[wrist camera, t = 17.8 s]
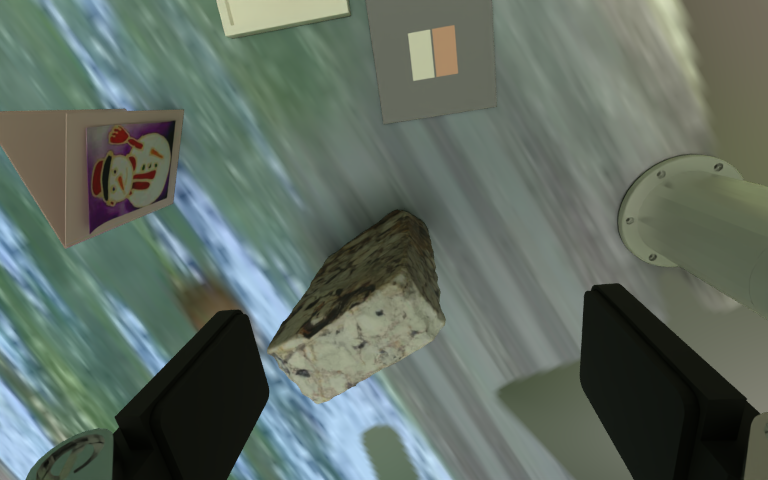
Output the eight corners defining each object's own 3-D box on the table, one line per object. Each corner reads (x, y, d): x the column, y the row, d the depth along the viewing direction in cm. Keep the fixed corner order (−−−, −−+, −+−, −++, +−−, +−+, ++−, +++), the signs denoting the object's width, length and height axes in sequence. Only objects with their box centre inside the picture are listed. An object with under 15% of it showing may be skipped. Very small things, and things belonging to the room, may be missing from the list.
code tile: (490, -28, 35) (490, -29, 35) (496, 106, 39) (497, 106, 39) (365, -3, 36) (365, -4, 36) (383, 124, 40) (383, 124, 40)
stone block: (356, 295, 48) (320, 419, 29) (319, 257, 46) (256, 361, 28) (437, 234, 44) (455, 330, 26) (399, 190, 43) (389, 258, 24)
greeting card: (179, 205, 45) (75, 251, 31) (120, 186, 45) (-12, 224, 31) (191, 112, 41) (77, 117, 27) (126, 90, 41) (-23, 83, 27)
